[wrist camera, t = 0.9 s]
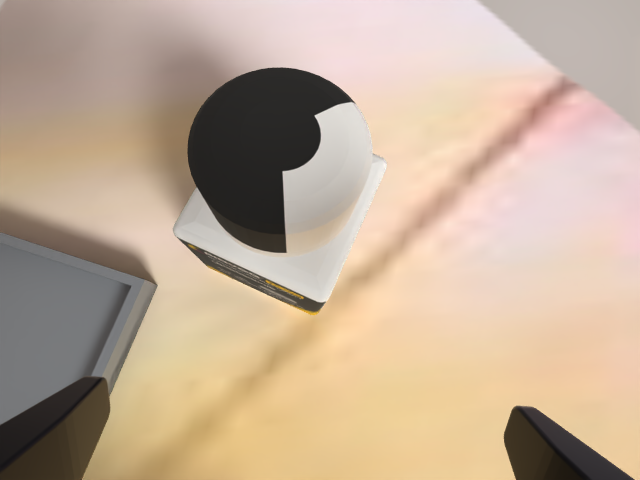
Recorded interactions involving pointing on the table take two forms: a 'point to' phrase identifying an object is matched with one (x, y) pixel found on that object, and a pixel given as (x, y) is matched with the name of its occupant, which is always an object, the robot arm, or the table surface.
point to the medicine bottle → (279, 183)
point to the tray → (61, 322)
